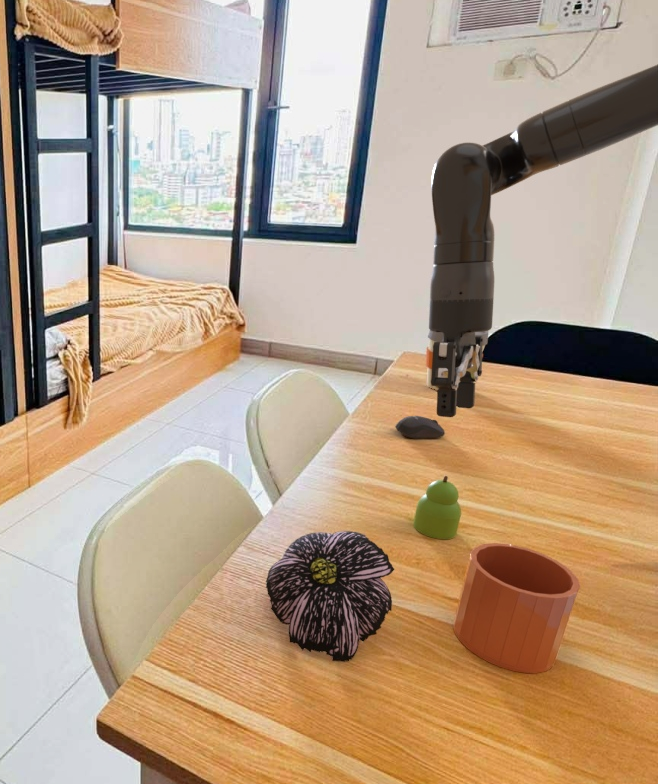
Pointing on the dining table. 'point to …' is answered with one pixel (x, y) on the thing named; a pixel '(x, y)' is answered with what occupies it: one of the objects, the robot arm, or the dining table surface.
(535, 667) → the terracotta cup
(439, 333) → the reusable coffee cup
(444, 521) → the green pear
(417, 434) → the computer mouse
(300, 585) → the decorative flower
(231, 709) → the dining table surface
